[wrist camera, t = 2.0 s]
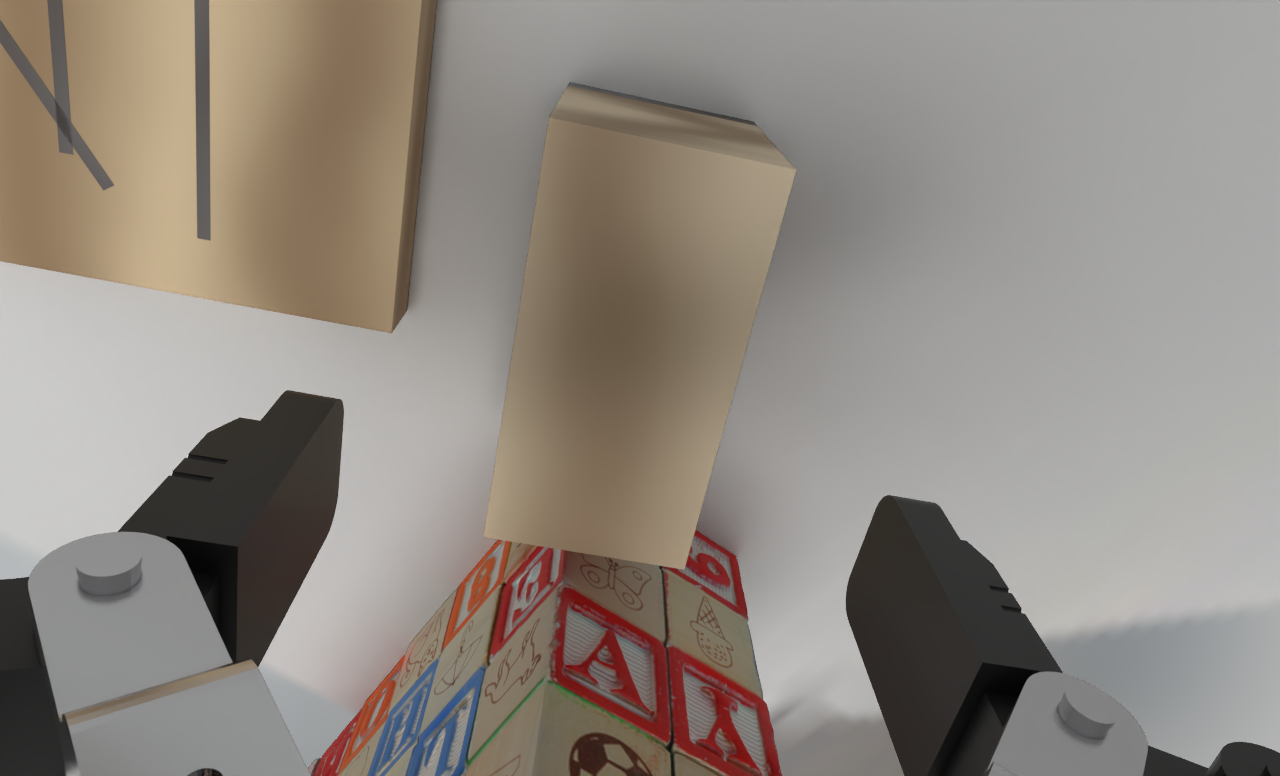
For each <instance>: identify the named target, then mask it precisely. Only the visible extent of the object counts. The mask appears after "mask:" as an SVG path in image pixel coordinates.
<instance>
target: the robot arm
mask: <svg viewBox="0 0 1280 776" xmlns="http://www.w3.org/2000/svg"><path fill="white" fill-rule="evenodd" d="M343 418H344V408H343V402H342V400H340V399H335V398H330V397H324V396H318V395H312V394H306V393H301V392H295V391H289V390H288V391H285V392H284V393H283V394H282V395H281V396H280V398H279V399H278V400H277V401H276V403H275V404H274V405H273V406H272V407H271V409H270V410H269V411H268V412H267V414H266V415H265V416H264V417H263V418H262V420H261V421H258V420H252V419H246V418H238V419H236V420H234V421H232V422H230V423H227V424H225V425H223V426H221V427H219V428H217V429H215V430H213V431H211V432H209V433H207V434H206V435H205V437H204V438H203V439H202V440H201V441H200V442H199V443H198V444H197V445H196V446H195V447H194V449H193V450H192V451H191V452H190V453H189V456H188V458H184V460H183V461H182V462H181V463H180V464H179V465H178V466H177V467H176V468H175V469H174V471H173V474H172V476H168V477H167V478H166V479H165V480H164V481H163V483H162V484H161V485H160V486H159V487H158V488H157V489H156V490H155V491H154V492H153V494H152V495H151V496H150V497H149V498H148V499H147V500H146V501H145V502H144V503H143V504H142V506H141V507H140V508H139V509H138V510H137V511H136V512H135V513H134V514H133V515H132V517H131V518H130V519H129V520H128V521H127V522H126V523H125V524H124V525H123V526H122V527H121V529H120V530H119V531H118V532H111V533H104V534H97V535H93V536H89V537H84V538H81V539H78V540H75V541H72V542H70V543H68V544H66V545H63V546H61V547H59V548H57V549H56V550H54V551H52V552H51V553H49V554H48V555H47V556H45V557H44V558H43V559H42V560H41V561H40V562H39V563H38V564H37V565H36V566H35V567H34V569H33V570H32V572H31V574H30V577H25V578H16V579H5V580H0V776H311V775H310V773H309V771H308V769H307V767H306V765H305V763H304V761H303V759H302V757H301V755H300V753H299V750H298V748H297V746H296V744H295V742H294V740H293V738H292V736H291V734H290V732H289V730H288V728H287V726H286V724H285V722H284V719H283V718H282V715H281V713H280V711H279V709H278V707H277V705H276V703H275V701H274V699H273V697H272V695H271V693H270V691H269V688H268V686H267V684H266V682H265V680H264V678H263V676H262V674H261V672H260V670H259V668H258V666H259V664H260V662H261V661H262V659H263V657H264V655H265V653H266V651H267V649H268V647H269V645H270V643H271V642H272V640H273V638H274V636H275V634H276V632H277V630H278V628H279V626H280V625H281V623H282V621H283V619H284V617H285V615H286V613H287V611H288V609H289V607H290V606H291V604H292V602H293V600H294V598H295V596H296V594H297V592H298V590H299V588H300V587H301V585H302V583H303V581H304V579H305V577H306V575H307V573H308V571H309V569H310V568H311V566H312V564H313V562H314V560H315V558H316V556H317V554H318V552H319V550H320V549H321V547H322V545H323V543H324V541H325V539H326V537H327V535H328V533H329V530H330V527H331V524H332V521H333V517H334V514H335V509H336V504H337V498H338V488H339V474H340V460H341V446H342V432H343ZM1008 589H1009V588H1008V587H1007V585H1006V584H1005V582H1004V581H1003V579H1002V578H1001V576H1000V574H999V573H998V571H997V570H996V568H995V567H994V565H993V564H992V563H991V562H990V561H989V560H987V559H986V558H985V557H984V556H983V555H982V554H981V553H980V552H978V551H977V550H976V549H975V548H974V547H973V546H972V545H970V544H969V543H968V542H967V541H964V540H960V538H959V537H958V535H957V534H956V532H955V530H954V529H953V527H952V525H951V524H950V522H949V521H948V519H947V517H946V516H945V514H944V512H943V511H942V509H941V508H940V506H939V505H937V504H936V503H931V502H926V501H920V500H914V499H908V498H902V497H897V496H891V495H887V496H885V497H884V498H882V500H881V501H880V502H879V504H878V506H877V508H876V510H875V513H874V515H873V518H872V520H871V523H870V526H869V528H868V531H867V533H866V536H865V539H864V541H863V544H862V546H861V549H860V552H859V554H858V557H857V559H856V562H855V564H854V567H853V570H852V572H851V575H850V578H849V581H848V586H847V593H846V611H847V617H848V620H849V623H850V626H851V629H852V631H853V634H854V637H855V640H856V643H857V645H858V648H859V651H860V654H861V656H862V659H863V662H864V665H865V667H866V670H867V673H868V676H869V679H870V681H871V684H872V687H873V690H874V692H875V695H876V698H877V701H878V703H879V706H880V709H881V712H882V715H883V717H884V720H885V723H886V726H887V728H888V731H889V734H890V737H891V739H892V742H893V745H894V748H895V751H896V753H897V756H898V759H899V762H900V764H901V767H902V770H903V773H904V775H905V776H1280V753H1278V752H1276V751H1274V750H1272V749H1269V748H1266V747H1263V746H1260V745H1256V744H1252V743H1246V742H1233V743H1230V744H1227V745H1226V746H1224V747H1223V748H1222V750H1221V751H1220V753H1219V754H1218V756H1217V757H1216V759H1215V760H1214V762H1213V763H1212V765H1211V766H1210V767H1209V768H1206V767H1203V766H1200V765H1198V764H1195V763H1193V762H1190V761H1187V760H1185V759H1182V758H1180V757H1177V756H1174V755H1172V754H1169V753H1166V752H1164V751H1161V750H1159V749H1156V748H1153V747H1151V746H1148V742H1147V738H1146V735H1145V733H1144V731H1143V729H1142V727H1141V726H1140V724H1139V723H1138V721H1137V720H1136V719H1135V718H1134V716H1133V715H1132V714H1131V713H1130V712H1129V711H1128V710H1127V709H1126V708H1125V707H1124V706H1123V705H1122V704H1121V703H1119V702H1118V701H1117V700H1116V699H1115V698H1113V697H1112V696H1110V695H1109V694H1108V693H1106V692H1105V691H1103V690H1101V689H1100V688H1098V687H1096V686H1095V685H1092V684H1091V683H1089V682H1087V681H1084V680H1082V679H1079V678H1077V677H1074V676H1071V675H1068V674H1064V673H1062V671H1061V669H1060V668H1059V666H1058V664H1057V663H1056V661H1055V660H1054V658H1053V657H1052V655H1051V654H1050V652H1049V650H1048V649H1047V647H1046V646H1045V644H1044V643H1043V641H1042V640H1041V638H1040V637H1039V635H1038V633H1037V632H1036V630H1035V629H1034V627H1033V626H1032V624H1031V623H1030V621H1029V619H1028V618H1027V616H1026V615H1025V614H1022V613H1021V607H1020V605H1019V604H1018V602H1017V601H1016V599H1015V598H1014V596H1013V595H1012V593H1008Z"/></svg>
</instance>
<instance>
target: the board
mask: <svg viewBox="0 0 1280 776" xmlns="http://www.w3.org/2000/svg"><path fill="white" fill-rule="evenodd" d="M436 6H437V0H0V261H3V262H8V263H14V264H19V265H25V266H30V267H35V268H41V269H46V270H52V271H57V272H63V273H68V274H73V275H79V276H84V277H90V278H95V279H101V280H106V281H111V282H117V283H122V284H128V285H133V286H139V287H144V288H149V289H155V290H160V291H166V292H171V293H177V294H182V295H187V296H193V297H198V298H204V299H209V300H214V301H220V302H225V303H231V304H236V305H242V306H247V307H252V308H258V309H263V310H269V311H274V312H280V313H285V314H290V315H296V316H301V317H307V318H312V319H318V320H323V321H328V322H334V323H339V324H345V325H350V326H356V327H361V328H366V329H372V330H377V331H383V332H388V333H392V332H393V330H394V329H395V327H396V326H397V324H398V323H399V321H400V320H401V319H402V317H403V316H404V314H405V313H406V311H407V303H408V293H409V283H410V273H411V262H412V252H413V242H414V232H415V221H416V211H417V201H418V190H419V180H420V170H421V160H422V149H423V139H424V129H425V119H426V108H427V98H428V88H429V78H430V67H431V57H432V47H433V36H434V26H435V16H436Z"/></svg>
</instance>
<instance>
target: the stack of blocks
mask: <svg viewBox="0 0 1280 776" xmlns="http://www.w3.org/2000/svg"><path fill="white" fill-rule="evenodd" d="M747 622H748V616H747V607H746V602H745V598H744V592H743V589H742V584H741V577H740V572H739V566H738V561H737V559H736V557H735V556H734V555H733V554H731V553H730V552H728V551H727V550H725V549H724V548H722V547H721V546H719V545H717V544H716V543H715V542H713V541H711V540H710V539H708V538H707V537H705V536H704V535H702V534H701V533H699V532H698V531H696V530H695V533H694V537H693V540H692V544H691V547H690V551H689V554H688V558H687V562H686V565H685V569H684V570H683V569H677V568H671V567H665V566H659V565H653V564H646V563H640V562H634V561H628V560H622V559H616V558H609V557H603V556H597V555H591V554H585V553H579V552H573V551H566V550H560V549H554V548H548V547H542V546H536V545H529V544H523V543H517V542H511V541H505V540H499V539H498V540H497V542H496V543H495V544H494V545H493V546H492V547H491V549H490V550H489V551H488V552H487V553H486V555H485V556H484V557H483V558H482V559H481V561H480V562H479V563H478V564H477V565H476V566H475V568H474V569H473V570H472V571H471V572H470V573H469V575H468V576H467V577H466V578H465V579H464V580H463V582H462V583H461V585H460V586H459V587H458V588H457V589H456V590H455V591H454V592H453V593H452V595H451V596H450V597H449V598H448V599H447V600H446V601H445V602H444V603H443V605H442V606H441V607H440V608H439V609H438V611H437V612H436V613H435V614H434V615H433V617H432V618H431V619H430V620H429V621H428V623H427V624H426V625H425V626H424V627H423V629H422V630H421V631H420V632H419V633H418V635H417V636H416V637H415V638H414V639H413V641H412V642H411V643H410V645H409V647H408V650H407V653H406V655H404V656H403V657H402V658H401V660H400V661H399V663H398V664H397V665H396V666H395V667H394V669H393V670H392V672H391V673H390V674H389V675H388V676H387V677H386V678H385V679H384V680H383V682H382V683H381V684H380V685H379V686H378V688H377V689H376V690H375V691H374V692H373V694H372V695H371V696H370V697H369V698H368V699H367V701H366V702H365V704H364V707H363V708H362V709H361V711H360V712H359V713H358V714H357V715H356V716H355V717H354V719H353V720H352V721H351V722H350V723H349V724H348V725H347V727H346V728H345V730H343V731H342V733H341V734H340V735H339V737H338V738H337V739H336V740H335V741H334V742H333V743H332V745H331V746H330V747H329V748H328V750H327V751H326V752H325V753H324V755H323V756H322V758H319V759H316V760H314V762H312V764H311V765H310V766H309V767H308V771H309V773H310V775H311V776H782V773H781V770H780V766H779V760H778V754H777V749H776V745H775V741H774V732H773V728H772V725H771V722H770V717H769V711H768V707H767V704H766V703H765V702H764V701H763V692H762V688H761V683H760V679H759V675H758V670H757V666H756V661H755V656H754V650H753V644H752V639H751V635H750V630H749V626H748V623H747Z"/></svg>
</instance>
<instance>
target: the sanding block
mask: <svg viewBox="0 0 1280 776" xmlns="http://www.w3.org/2000/svg"><path fill="white" fill-rule="evenodd" d="M795 174H796V169H795V167H794V166H793V165H792V164H791V163H790V162H789V161H788V160H787V159H786V157H785V156H784V155H783V154H782V153H781V152H780V151H779V150H778V149H777V147H776V146H775V145H774V144H773V143H772V142H771V141H770V140H769V139H768V137H767V136H766V135H765V134H764V133H763V132H762V131H761V130H760V129H759V127H758V126H757V125H756V124H755V123H754V122H751V121H747V120H742V119H738V118H733V117H728V116H724V115H719V114H714V113H710V112H705V111H701V110H696V109H691V108H687V107H682V106H677V105H673V104H668V103H664V102H659V101H654V100H650V99H645V98H640V97H636V96H631V95H627V94H622V93H617V92H613V91H608V90H603V89H599V88H594V87H590V86H585V85H580V84H576V83H571V82H570V83H569V85H568V86H567V88H566V90H565V91H564V93H563V95H562V96H561V98H560V100H559V101H558V103H557V105H556V106H555V108H554V110H553V111H552V113H551V115H550V116H549V120H548V126H547V133H546V139H545V146H544V152H543V158H542V165H541V171H540V178H539V184H538V190H537V197H536V203H535V210H534V216H533V222H532V229H531V235H530V242H529V248H528V254H527V261H526V267H525V274H524V280H523V286H522V293H521V299H520V306H519V312H518V319H517V325H516V331H515V338H514V344H513V351H512V357H511V363H510V370H509V376H508V383H507V389H506V395H505V402H504V408H503V415H502V421H501V427H500V434H499V440H498V447H497V453H496V459H495V466H494V472H493V479H492V485H491V491H490V498H489V504H488V511H487V517H486V524H485V530H484V536H483V537H486V538H492V539H499V540H505V541H511V542H517V543H523V544H529V545H536V546H542V547H548V548H554V549H560V550H566V551H573V552H579V553H585V554H591V555H597V556H603V557H609V558H616V559H622V560H628V561H634V562H640V563H646V564H653V565H659V566H665V567H671V568H677V569H683V570H684V569H685V565H686V562H687V558H688V554H689V551H690V547H691V544H692V540H693V537H694V533H695V529H696V526H697V522H698V519H699V515H700V512H701V508H702V505H703V501H704V497H705V494H706V490H707V487H708V483H709V480H710V476H711V473H712V469H713V465H714V462H715V458H716V455H717V451H718V448H719V444H720V441H721V437H722V433H723V430H724V426H725V423H726V419H727V416H728V412H729V409H730V405H731V401H732V398H733V394H734V391H735V387H736V384H737V380H738V376H739V373H740V369H741V366H742V362H743V359H744V355H745V352H746V348H747V344H748V341H749V337H750V334H751V330H752V327H753V323H754V320H755V316H756V312H757V309H758V305H759V302H760V298H761V295H762V291H763V288H764V284H765V280H766V277H767V273H768V270H769V266H770V263H771V259H772V256H773V252H774V248H775V245H776V241H777V238H778V234H779V231H780V227H781V224H782V220H783V216H784V213H785V209H786V206H787V202H788V199H789V195H790V191H791V188H792V184H793V181H794V177H795Z"/></svg>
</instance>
